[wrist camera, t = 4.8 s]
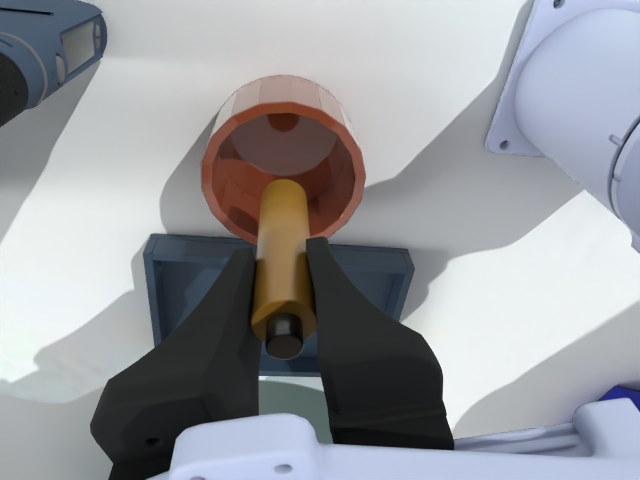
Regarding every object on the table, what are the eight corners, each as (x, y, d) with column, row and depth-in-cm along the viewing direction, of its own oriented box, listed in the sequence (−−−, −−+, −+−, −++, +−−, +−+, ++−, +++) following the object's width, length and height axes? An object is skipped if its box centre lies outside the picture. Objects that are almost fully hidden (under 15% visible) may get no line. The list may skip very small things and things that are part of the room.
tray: (407, 248, 29) (415, 268, 27) (376, 357, 35) (380, 378, 33) (151, 233, 27) (142, 253, 25) (164, 351, 33) (157, 373, 31)
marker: (309, 180, 19) (323, 324, 12) (304, 219, 20) (315, 371, 13) (262, 176, 19) (250, 321, 12) (260, 216, 20) (247, 369, 13)
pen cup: (364, 82, 23) (379, 110, 19) (341, 212, 27) (350, 253, 23) (211, 65, 22) (198, 92, 18) (213, 203, 26) (203, 245, 22)
